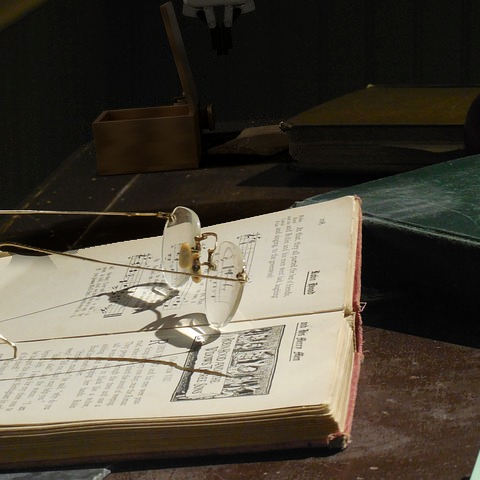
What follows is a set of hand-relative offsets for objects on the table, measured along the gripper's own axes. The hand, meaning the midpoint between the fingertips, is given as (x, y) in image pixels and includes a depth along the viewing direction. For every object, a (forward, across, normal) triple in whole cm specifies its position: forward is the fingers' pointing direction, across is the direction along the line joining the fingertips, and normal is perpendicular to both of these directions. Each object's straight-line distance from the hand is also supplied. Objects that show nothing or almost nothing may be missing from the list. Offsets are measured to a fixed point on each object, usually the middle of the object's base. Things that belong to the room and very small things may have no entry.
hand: (223, 54), depth 141 cm
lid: (0, +7, 0) cm, 7 cm away
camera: (+16, +6, -14) cm, 22 cm away
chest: (+16, +12, 0) cm, 20 cm away
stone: (+16, -4, -3) cm, 17 cm away
